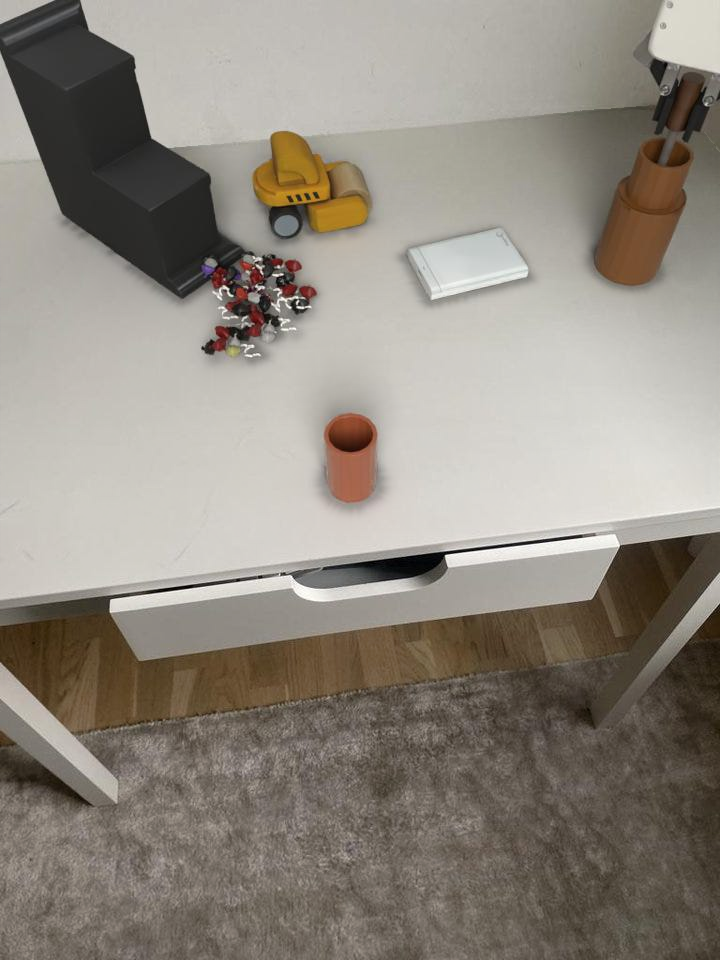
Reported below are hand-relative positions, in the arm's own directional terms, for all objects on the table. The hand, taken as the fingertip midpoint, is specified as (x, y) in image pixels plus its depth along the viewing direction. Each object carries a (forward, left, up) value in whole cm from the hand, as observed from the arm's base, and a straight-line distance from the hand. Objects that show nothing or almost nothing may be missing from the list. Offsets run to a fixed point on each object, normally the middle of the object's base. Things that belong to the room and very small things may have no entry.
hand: (674, 130), depth 79 cm
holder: (-8, +46, -17) cm, 49 cm away
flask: (0, 0, -18) cm, 18 cm away
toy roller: (+29, +27, -18) cm, 43 cm away
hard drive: (+10, +17, -18) cm, 26 cm away
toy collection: (+18, +42, -18) cm, 49 cm away
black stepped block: (+37, +46, -18) cm, 62 cm away
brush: (0, 0, -15) cm, 15 cm away
